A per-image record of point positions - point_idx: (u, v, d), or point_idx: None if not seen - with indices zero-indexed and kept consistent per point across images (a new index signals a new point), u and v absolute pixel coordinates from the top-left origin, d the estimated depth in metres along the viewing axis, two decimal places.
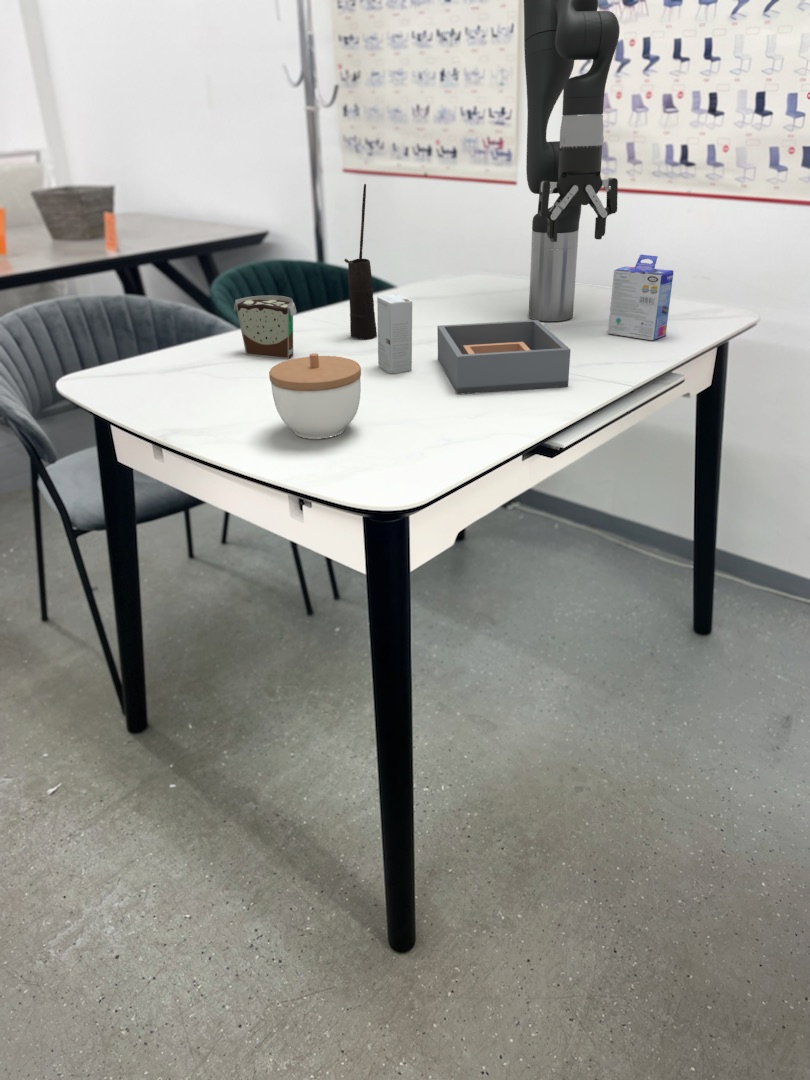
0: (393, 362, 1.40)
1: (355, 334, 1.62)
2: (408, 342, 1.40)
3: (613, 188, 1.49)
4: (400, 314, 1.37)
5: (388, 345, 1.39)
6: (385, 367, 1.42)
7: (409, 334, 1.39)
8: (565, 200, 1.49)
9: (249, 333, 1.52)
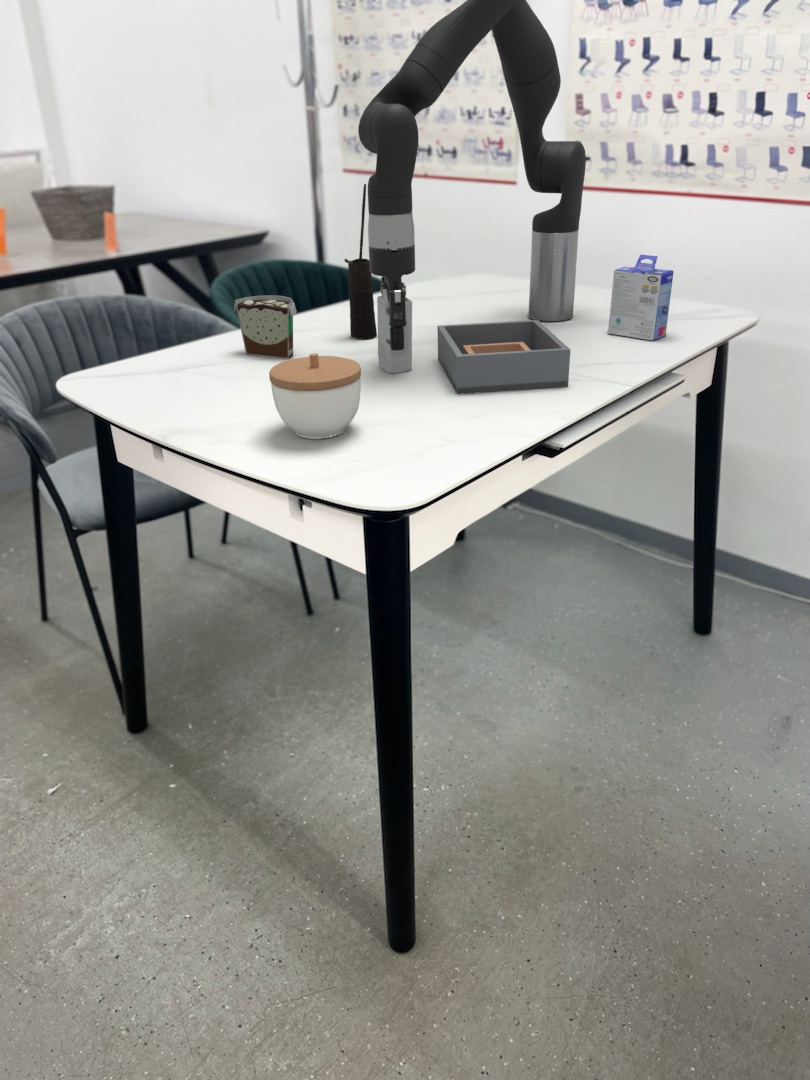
0: (393, 362, 1.40)
1: (355, 334, 1.62)
2: (408, 342, 1.40)
3: None
4: None
5: (388, 345, 1.39)
6: (385, 367, 1.42)
7: (409, 334, 1.39)
8: (405, 303, 1.36)
9: (249, 333, 1.52)
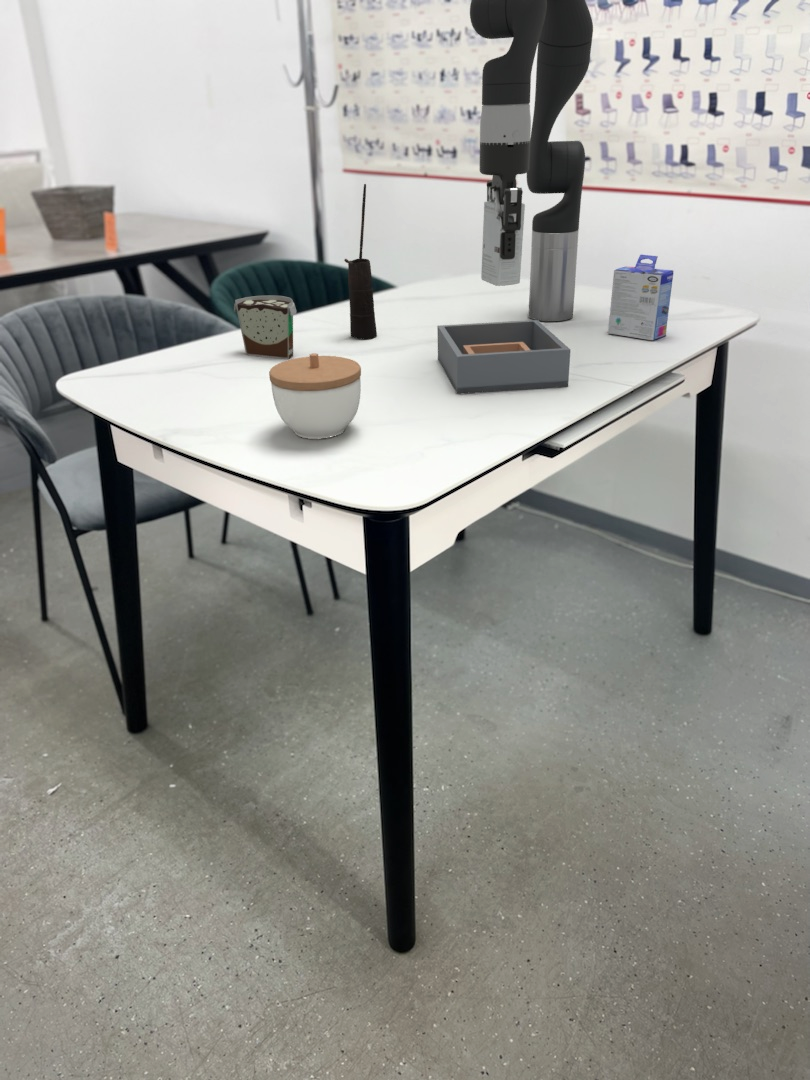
0: (501, 273, 1.30)
1: (355, 334, 1.62)
2: (518, 251, 1.29)
3: None
4: None
5: (497, 254, 1.28)
6: (491, 280, 1.32)
7: (519, 242, 1.28)
8: None
9: (249, 333, 1.52)
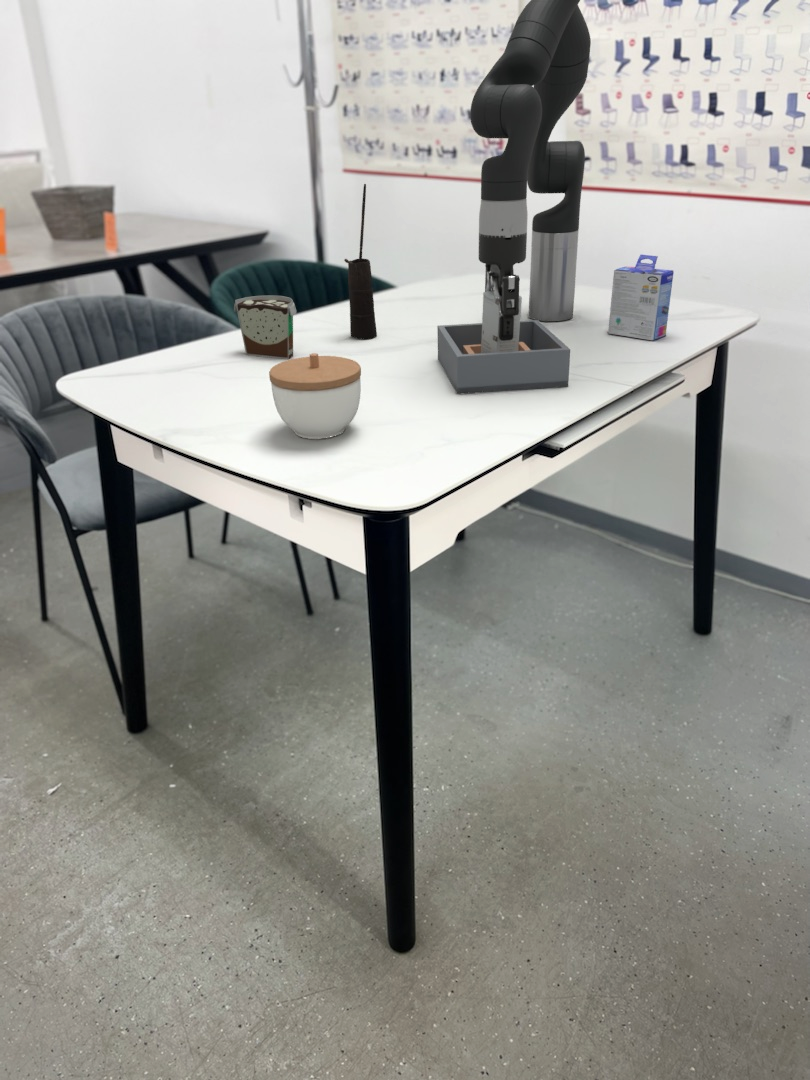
0: None
1: (355, 334, 1.62)
2: (515, 339, 1.35)
3: None
4: None
5: (495, 342, 1.35)
6: None
7: (516, 331, 1.35)
8: None
9: (249, 333, 1.52)
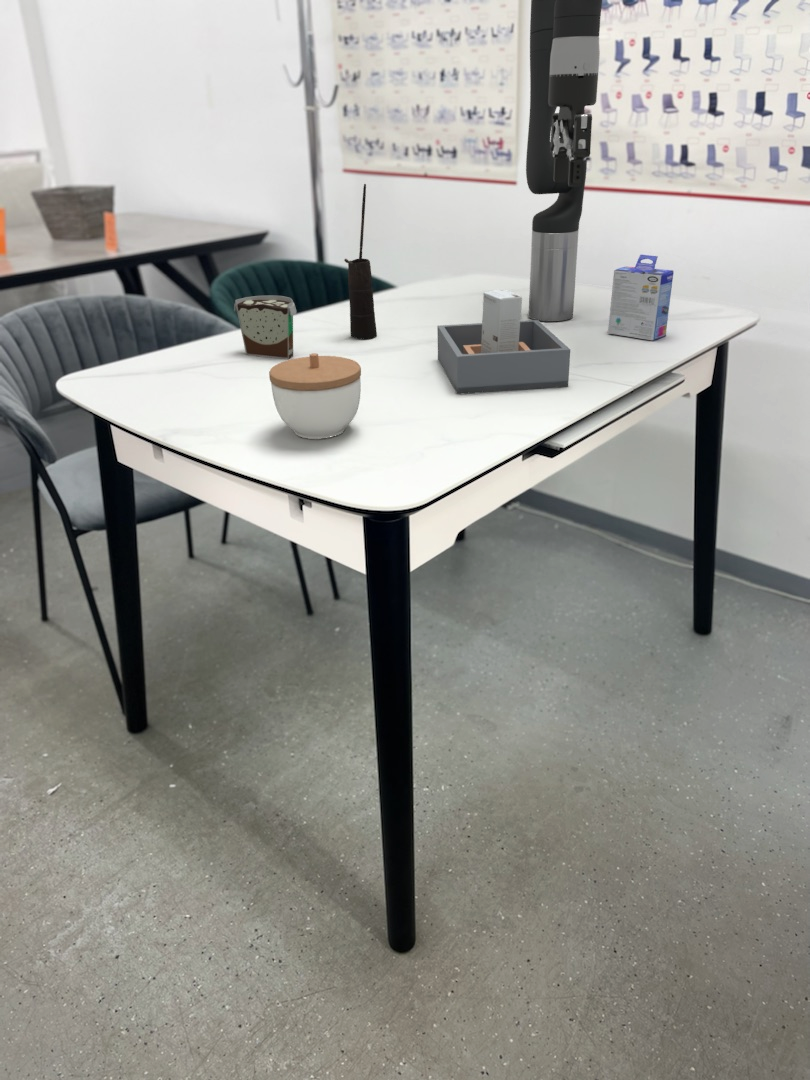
0: None
1: (355, 334, 1.62)
2: (515, 339, 1.35)
3: None
4: (510, 310, 1.32)
5: (495, 342, 1.35)
6: None
7: (516, 331, 1.35)
8: None
9: (249, 333, 1.52)
